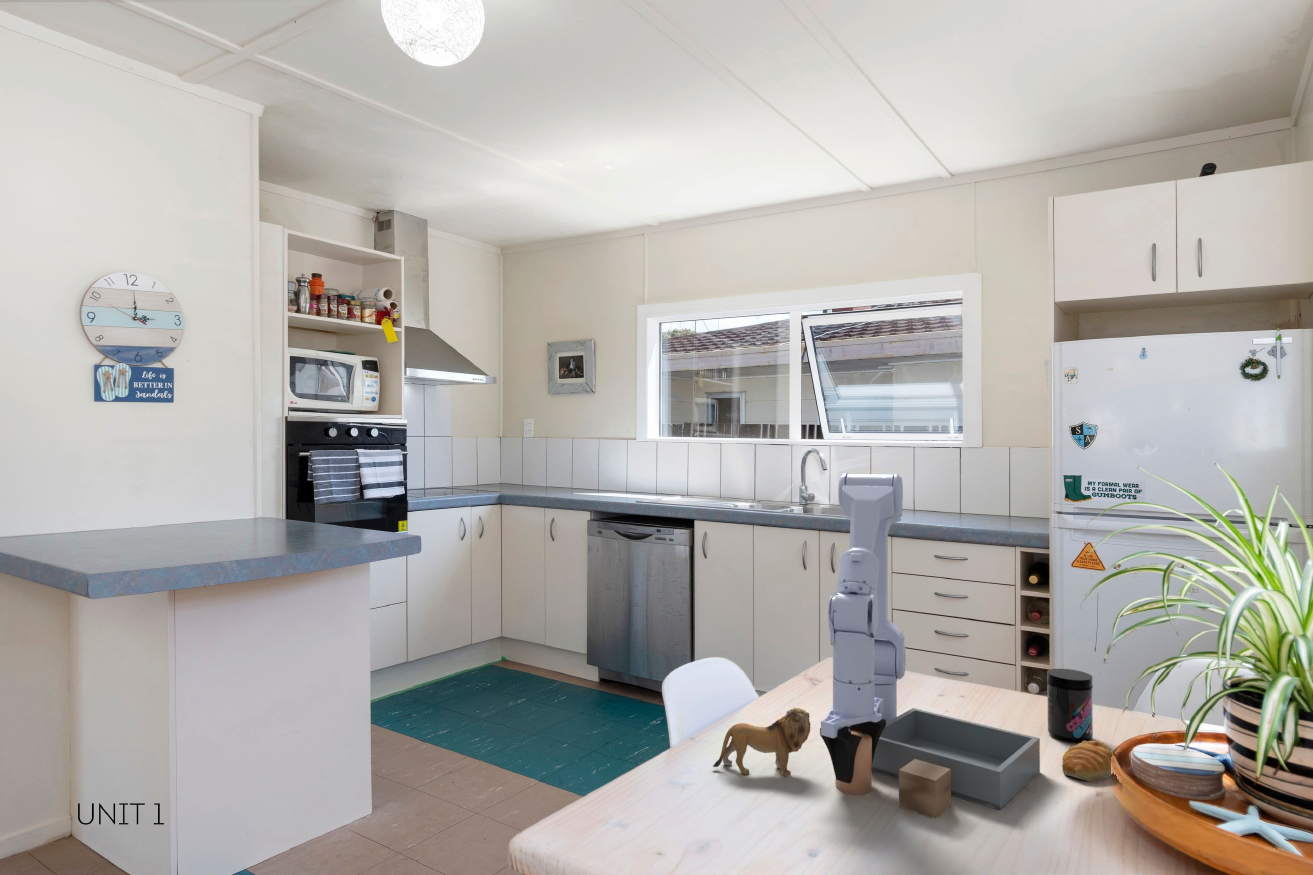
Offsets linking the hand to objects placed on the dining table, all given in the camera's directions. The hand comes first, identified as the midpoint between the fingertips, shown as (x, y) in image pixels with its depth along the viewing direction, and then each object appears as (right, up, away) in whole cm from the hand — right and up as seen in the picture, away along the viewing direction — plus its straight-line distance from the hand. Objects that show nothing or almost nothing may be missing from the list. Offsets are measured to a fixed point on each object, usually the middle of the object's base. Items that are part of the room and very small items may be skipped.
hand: (853, 774), depth 109 cm
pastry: (+37, -2, +6) cm, 37 cm away
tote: (+16, -2, +6) cm, 17 cm away
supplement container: (+41, -2, +19) cm, 45 cm away
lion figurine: (-12, -2, +6) cm, 13 cm away
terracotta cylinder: (0, -2, 0) cm, 2 cm away
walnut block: (+8, -2, -6) cm, 10 cm away
